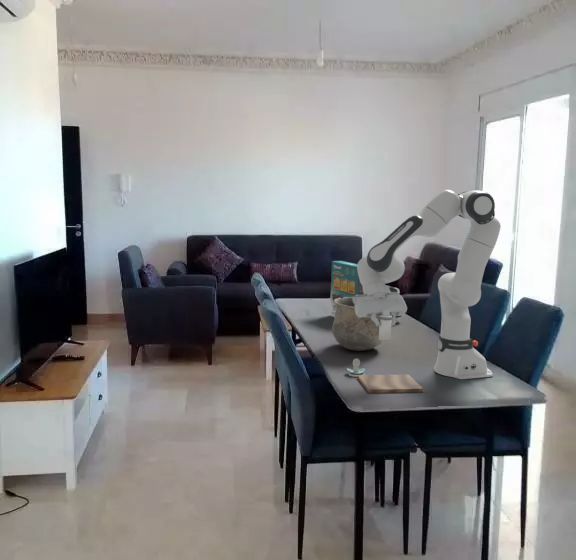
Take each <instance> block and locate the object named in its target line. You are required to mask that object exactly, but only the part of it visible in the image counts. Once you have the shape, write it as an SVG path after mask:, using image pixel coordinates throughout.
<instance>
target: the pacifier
mask: <svg viewBox="0 0 576 560" xmlns="http://www.w3.org/2000/svg"><path fill="white" fill-rule="evenodd" d="M352 366H353V369H351V368H346V370H347V371H348V372H349V373H348V376H349V377H353V378H358V375H366V373H365V372H366V368H365V367H362V368H360V366H361V361H360V359H359V358H354V359H353V361H352Z"/></svg>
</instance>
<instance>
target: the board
mask: <svg viewBox="0 0 576 560" xmlns="http://www.w3.org/2000/svg"><path fill="white" fill-rule="evenodd" d="M357 379H358V381H359V382H360V383H361V385H362V386H363V388H364V389H365V390H366V391H367V393H368V394H370V393H371V394H372V393H373V394H374V393H375V394H376V393H378V394H380V393H382V394H383V393H385V394H386V393H388V394H389V393H422V392H424V388H423V387H422V386H421V385H420V384H419V383H418V382H417V381H416V380H415V379H414V378H413V377H412V376H411V375H410V374H365V375H358V377H357Z"/></svg>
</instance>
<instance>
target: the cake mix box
mask: <svg viewBox="0 0 576 560" xmlns="http://www.w3.org/2000/svg"><path fill="white" fill-rule="evenodd" d="M357 265H358V263H353V262H348V261H345V260H333V261H332V260H331V276H330V277H331V279H330V280H331V282H330V299H329V300H330V301H329V317H332V318H334V317H335V312H336V305H335V304H334V300H335V299H337V298H341V299H342V298H344V297H353V296H355V295H362V294H364V292H363V286H362V284H361V283H360V279H359V276H358V271H357Z"/></svg>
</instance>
